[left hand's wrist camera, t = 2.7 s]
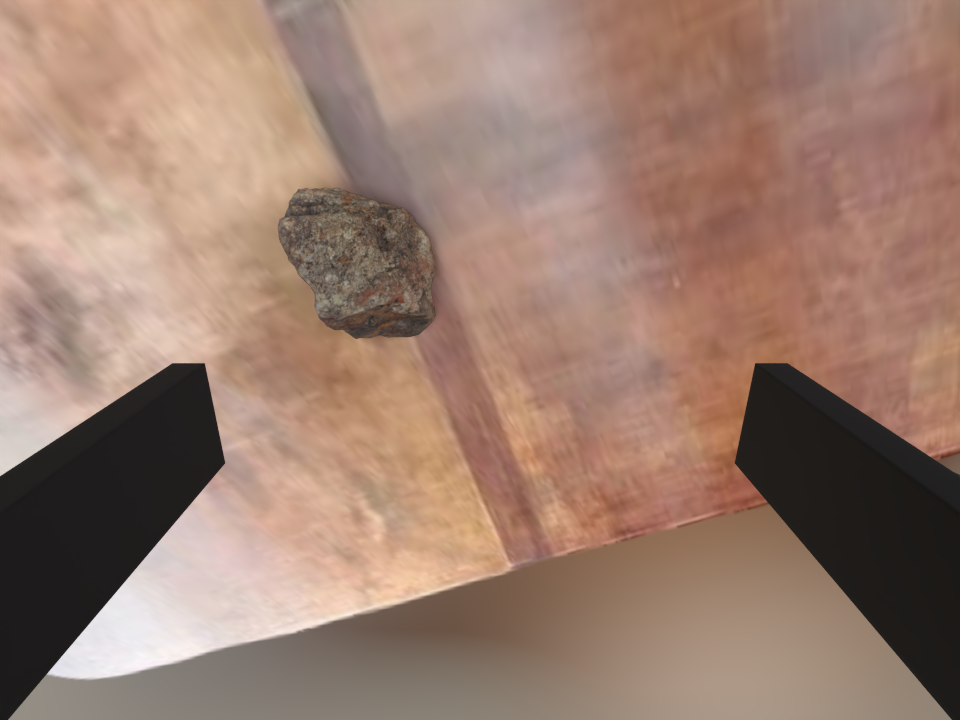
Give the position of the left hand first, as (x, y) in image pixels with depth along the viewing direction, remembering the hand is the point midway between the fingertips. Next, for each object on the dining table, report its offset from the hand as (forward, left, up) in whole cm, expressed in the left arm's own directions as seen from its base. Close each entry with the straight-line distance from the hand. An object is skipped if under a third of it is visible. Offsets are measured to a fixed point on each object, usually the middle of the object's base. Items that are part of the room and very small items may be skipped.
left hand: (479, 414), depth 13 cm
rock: (+9, -2, -35) cm, 36 cm away
